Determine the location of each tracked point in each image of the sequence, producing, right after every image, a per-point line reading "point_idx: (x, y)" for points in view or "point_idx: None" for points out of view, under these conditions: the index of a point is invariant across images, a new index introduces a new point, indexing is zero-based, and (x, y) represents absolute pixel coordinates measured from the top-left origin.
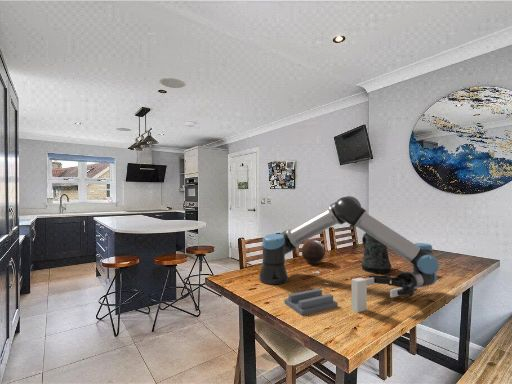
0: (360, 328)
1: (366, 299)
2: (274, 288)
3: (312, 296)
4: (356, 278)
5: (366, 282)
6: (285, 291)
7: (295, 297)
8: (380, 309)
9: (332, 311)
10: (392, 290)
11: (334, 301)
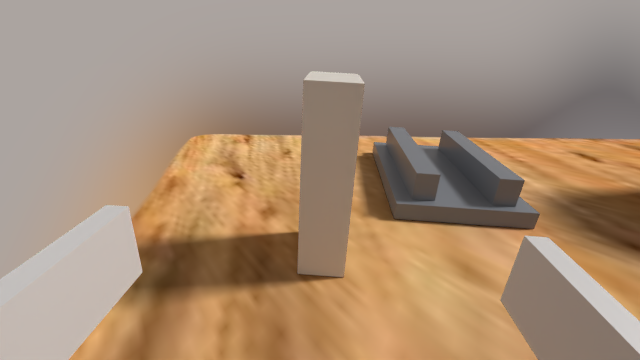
0: (224, 180)
1: (299, 217)
2: (610, 181)
3: (471, 176)
4: (358, 78)
5: (303, 101)
6: (579, 187)
7: (445, 141)
8: (242, 346)
9: (360, 191)
10: (98, 212)
11: (412, 202)
